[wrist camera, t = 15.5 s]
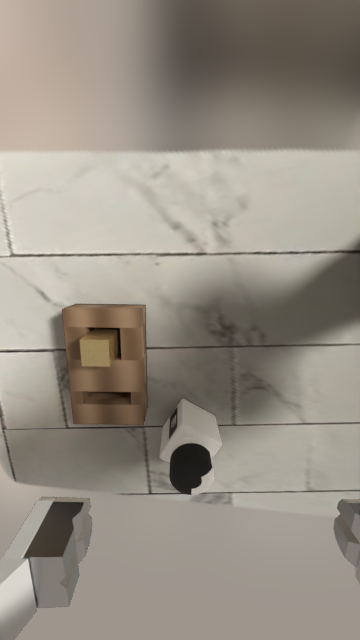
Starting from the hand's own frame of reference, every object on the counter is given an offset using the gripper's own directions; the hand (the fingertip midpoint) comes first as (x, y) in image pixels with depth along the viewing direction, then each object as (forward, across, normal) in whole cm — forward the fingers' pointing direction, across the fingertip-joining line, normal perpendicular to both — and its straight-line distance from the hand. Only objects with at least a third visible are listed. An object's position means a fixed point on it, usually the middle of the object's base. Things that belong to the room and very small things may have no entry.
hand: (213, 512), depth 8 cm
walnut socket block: (+34, +13, +9) cm, 38 cm away
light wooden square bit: (+33, +13, +4) cm, 36 cm away
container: (+34, -1, +22) cm, 41 cm away
